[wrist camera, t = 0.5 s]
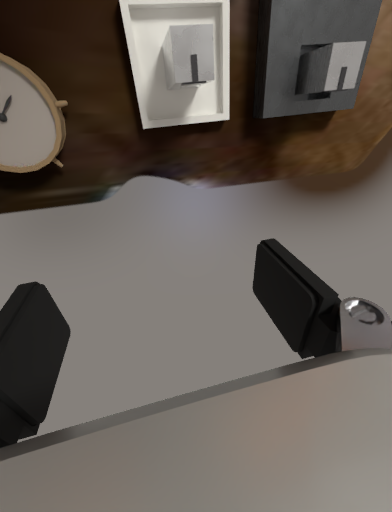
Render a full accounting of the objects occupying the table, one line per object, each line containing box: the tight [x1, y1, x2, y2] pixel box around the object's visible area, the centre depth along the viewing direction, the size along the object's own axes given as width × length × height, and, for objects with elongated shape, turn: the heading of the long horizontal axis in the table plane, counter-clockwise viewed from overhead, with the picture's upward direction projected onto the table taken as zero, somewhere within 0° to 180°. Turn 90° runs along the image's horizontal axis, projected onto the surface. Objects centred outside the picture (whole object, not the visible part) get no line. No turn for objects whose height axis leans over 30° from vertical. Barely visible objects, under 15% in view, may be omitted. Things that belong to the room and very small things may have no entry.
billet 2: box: [295, 41, 366, 95], centre depth 27 cm, size 4×4×7 cm
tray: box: [119, 0, 230, 129], centre depth 26 cm, size 12×12×2 cm
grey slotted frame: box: [253, 0, 382, 118], centre depth 26 cm, size 18×14×3 cm
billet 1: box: [162, 24, 214, 90], centre depth 23 cm, size 4×4×7 cm
